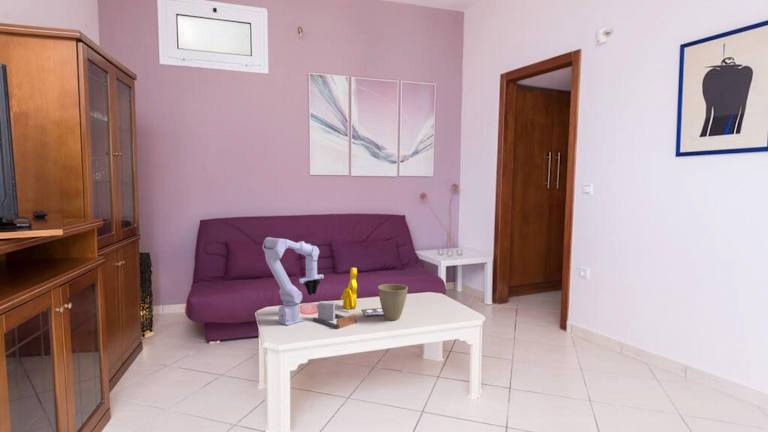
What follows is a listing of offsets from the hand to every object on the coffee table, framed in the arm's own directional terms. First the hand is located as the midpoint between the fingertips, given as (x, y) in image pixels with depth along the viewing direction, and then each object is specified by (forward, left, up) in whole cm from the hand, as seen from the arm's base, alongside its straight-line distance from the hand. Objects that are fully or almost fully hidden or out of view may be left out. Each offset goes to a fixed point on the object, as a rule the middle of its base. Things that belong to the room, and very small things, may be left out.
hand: (311, 294), depth 226 cm
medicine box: (-1, -12, -11) cm, 16 cm away
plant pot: (+23, -35, -11) cm, 44 cm away
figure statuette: (+21, -6, -11) cm, 25 cm away
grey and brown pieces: (-1, -18, -10) cm, 21 cm away
